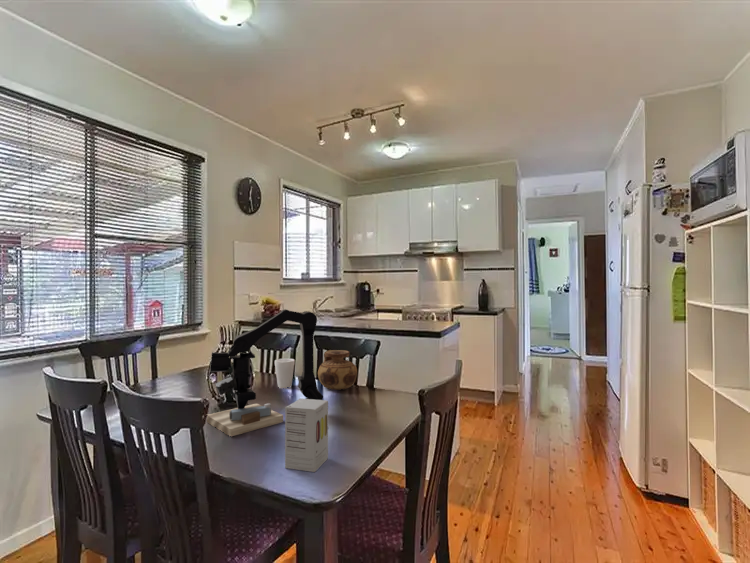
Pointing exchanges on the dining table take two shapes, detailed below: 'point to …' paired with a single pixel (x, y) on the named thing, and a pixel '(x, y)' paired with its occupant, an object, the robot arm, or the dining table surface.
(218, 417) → the stool seat
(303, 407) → the supplement box
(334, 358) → the clay pot
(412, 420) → the dining table surface
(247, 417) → the block
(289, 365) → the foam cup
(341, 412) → the dining table surface
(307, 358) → the robot arm
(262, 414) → the hinged leg
